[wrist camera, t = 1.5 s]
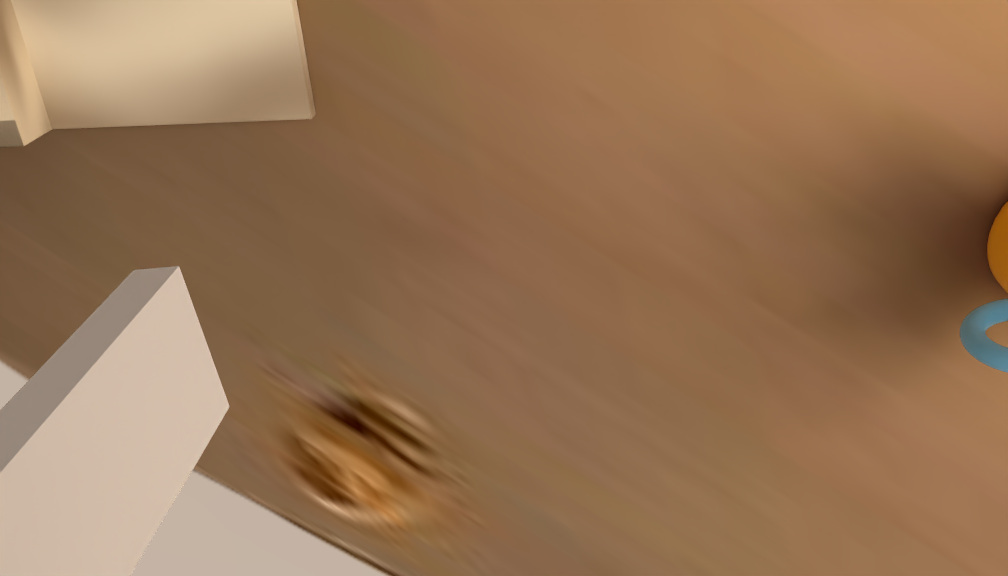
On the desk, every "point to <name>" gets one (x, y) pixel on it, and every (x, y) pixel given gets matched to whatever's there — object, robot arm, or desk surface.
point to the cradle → (148, 64)
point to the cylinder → (1004, 262)
